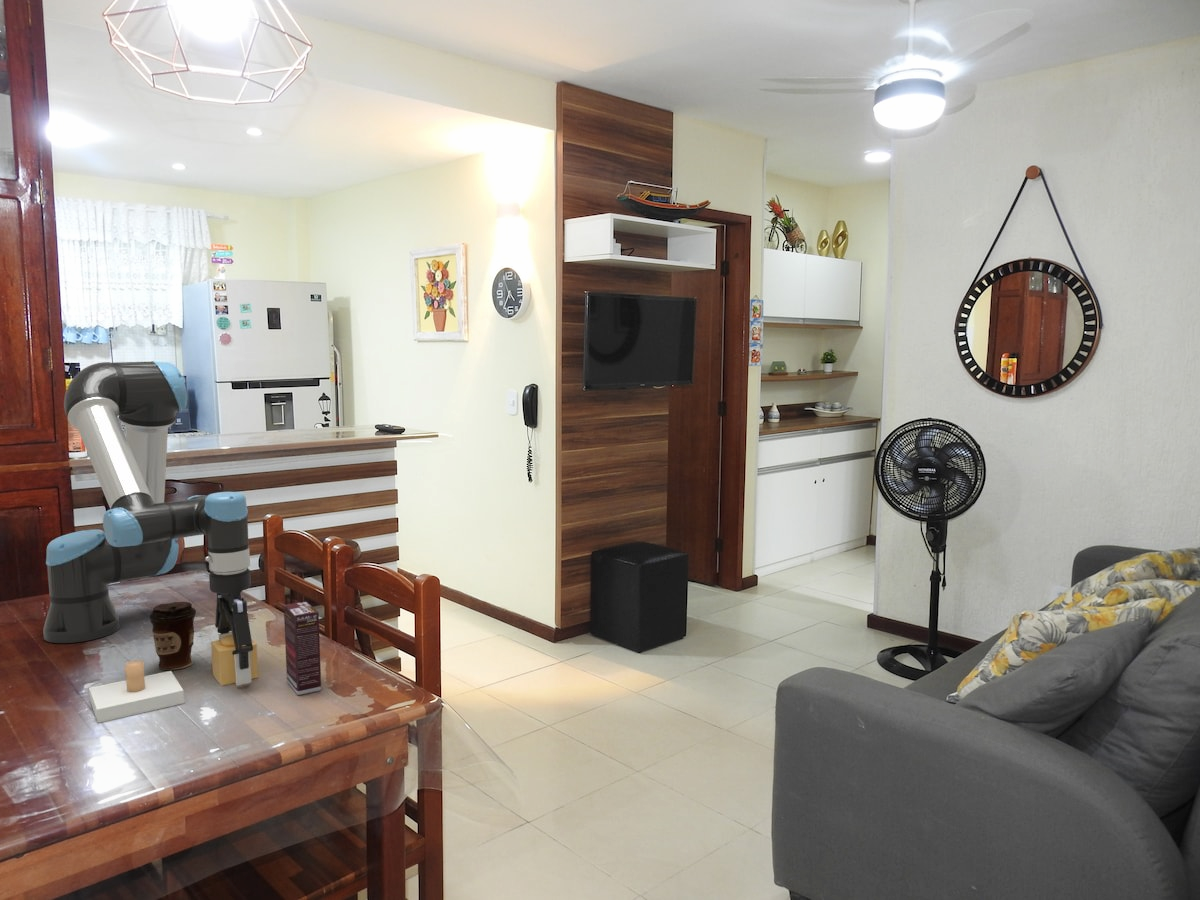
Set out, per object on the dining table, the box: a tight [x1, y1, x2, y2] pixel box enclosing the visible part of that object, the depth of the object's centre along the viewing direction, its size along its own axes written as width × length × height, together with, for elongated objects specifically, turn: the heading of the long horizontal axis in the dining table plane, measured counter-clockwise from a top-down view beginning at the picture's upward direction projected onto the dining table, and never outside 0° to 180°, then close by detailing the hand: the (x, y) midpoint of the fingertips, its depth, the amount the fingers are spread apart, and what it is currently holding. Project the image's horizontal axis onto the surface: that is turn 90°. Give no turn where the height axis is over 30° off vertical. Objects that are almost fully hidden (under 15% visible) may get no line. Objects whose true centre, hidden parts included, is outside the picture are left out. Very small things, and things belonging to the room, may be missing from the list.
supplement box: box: [283, 601, 322, 696], centre depth 164 cm, size 9×5×16 cm, turn 34°
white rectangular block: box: [88, 660, 185, 724], centre depth 157 cm, size 12×14×8 cm
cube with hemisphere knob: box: [210, 634, 259, 687], centre depth 170 cm, size 7×7×8 cm
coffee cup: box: [149, 601, 197, 671], centre depth 175 cm, size 9×8×13 cm
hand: (235, 673), depth 170 cm, fingers open, 12 cm apart
